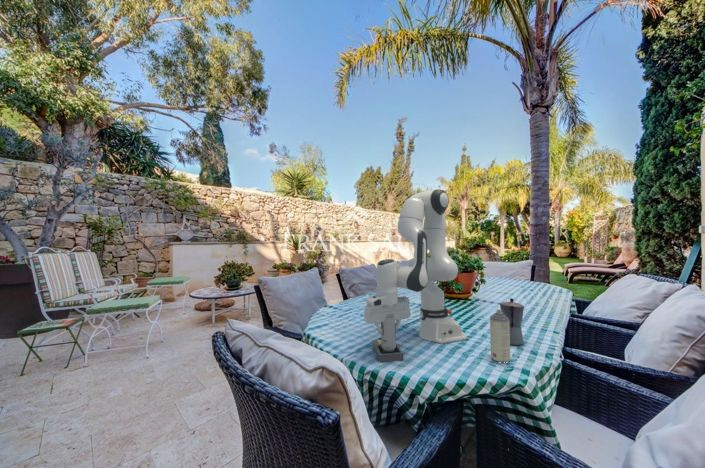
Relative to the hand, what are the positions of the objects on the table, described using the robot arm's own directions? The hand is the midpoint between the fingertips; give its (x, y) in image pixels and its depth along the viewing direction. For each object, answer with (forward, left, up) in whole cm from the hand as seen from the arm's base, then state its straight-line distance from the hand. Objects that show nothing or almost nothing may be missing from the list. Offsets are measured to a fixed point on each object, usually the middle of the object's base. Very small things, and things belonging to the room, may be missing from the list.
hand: (388, 331), depth 115 cm
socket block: (0, -3, -11) cm, 11 cm away
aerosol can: (-43, +11, -11) cm, 46 cm away
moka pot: (-59, -3, -11) cm, 60 cm away
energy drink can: (0, 0, -8) cm, 8 cm away
